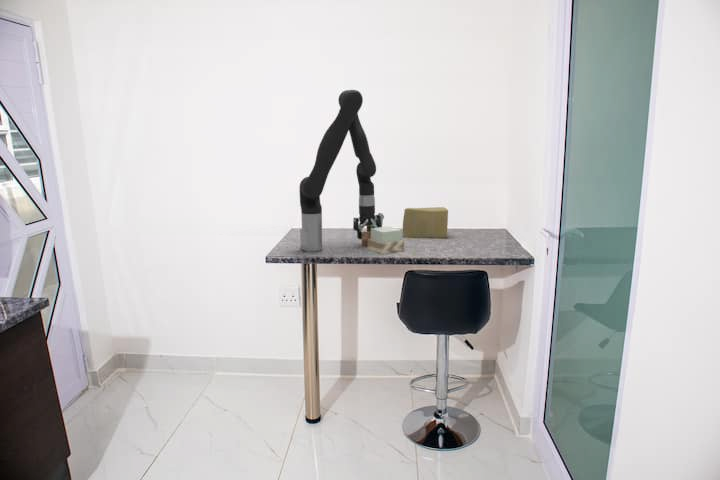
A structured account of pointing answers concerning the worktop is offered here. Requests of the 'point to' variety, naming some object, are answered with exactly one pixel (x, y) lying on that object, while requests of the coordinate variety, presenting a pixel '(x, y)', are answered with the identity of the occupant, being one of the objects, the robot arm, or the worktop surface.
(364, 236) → the round block
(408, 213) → the cheese
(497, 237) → the worktop surface
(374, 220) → the food container
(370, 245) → the bottom block
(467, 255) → the worktop surface
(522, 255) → the worktop surface
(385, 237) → the top block
